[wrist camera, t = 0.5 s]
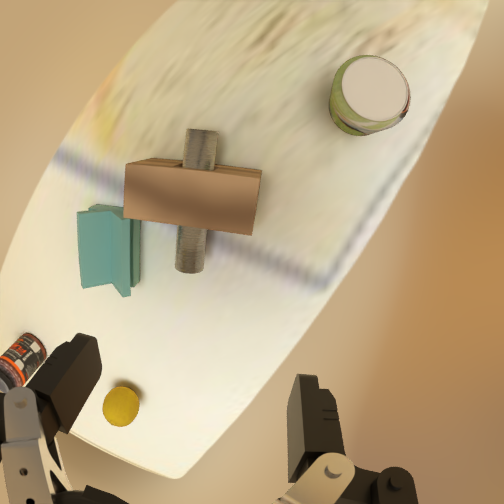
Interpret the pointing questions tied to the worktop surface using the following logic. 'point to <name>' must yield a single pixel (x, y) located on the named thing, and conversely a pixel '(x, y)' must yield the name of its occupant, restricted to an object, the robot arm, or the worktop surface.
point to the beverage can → (368, 95)
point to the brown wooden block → (192, 195)
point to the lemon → (120, 406)
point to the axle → (190, 238)
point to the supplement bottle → (20, 362)
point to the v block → (108, 248)
